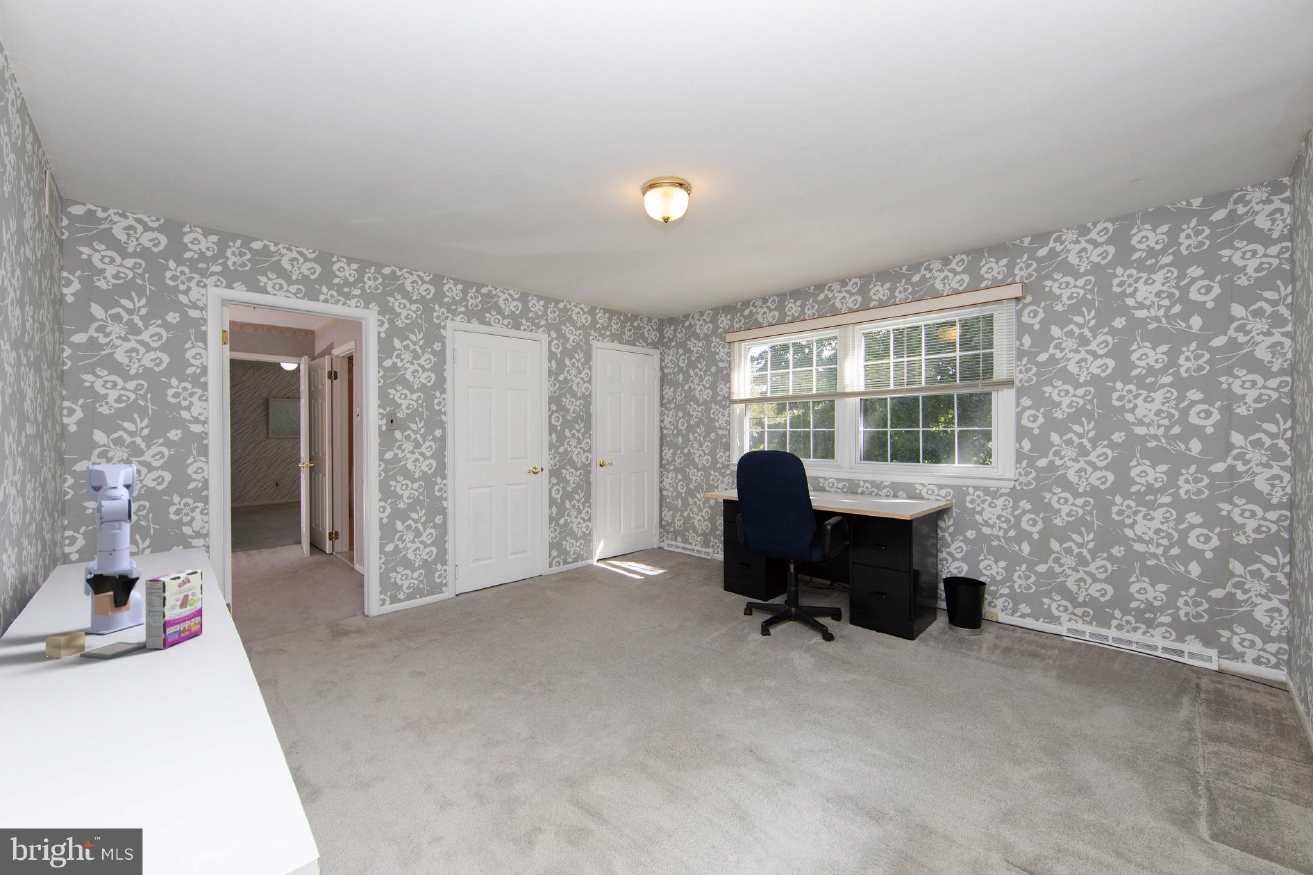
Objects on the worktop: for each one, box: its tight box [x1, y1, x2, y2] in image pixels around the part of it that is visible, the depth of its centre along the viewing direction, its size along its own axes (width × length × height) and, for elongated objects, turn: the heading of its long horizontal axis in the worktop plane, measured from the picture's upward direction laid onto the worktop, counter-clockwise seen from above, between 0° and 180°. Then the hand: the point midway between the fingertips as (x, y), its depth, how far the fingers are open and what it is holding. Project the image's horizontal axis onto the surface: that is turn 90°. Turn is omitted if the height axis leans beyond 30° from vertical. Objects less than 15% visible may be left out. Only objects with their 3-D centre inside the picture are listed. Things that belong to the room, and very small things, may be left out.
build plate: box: [79, 641, 146, 660], centre depth 132 cm, size 8×8×1 cm
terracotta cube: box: [94, 592, 130, 616], centre depth 138 cm, size 4×4×4 cm
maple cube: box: [45, 630, 86, 659], centre depth 131 cm, size 4×4×4 cm
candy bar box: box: [145, 569, 203, 650], centre depth 139 cm, size 11×5×16 cm, turn 179°
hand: (112, 605), depth 138 cm, fingers closed on terracotta cube, 4 cm apart
